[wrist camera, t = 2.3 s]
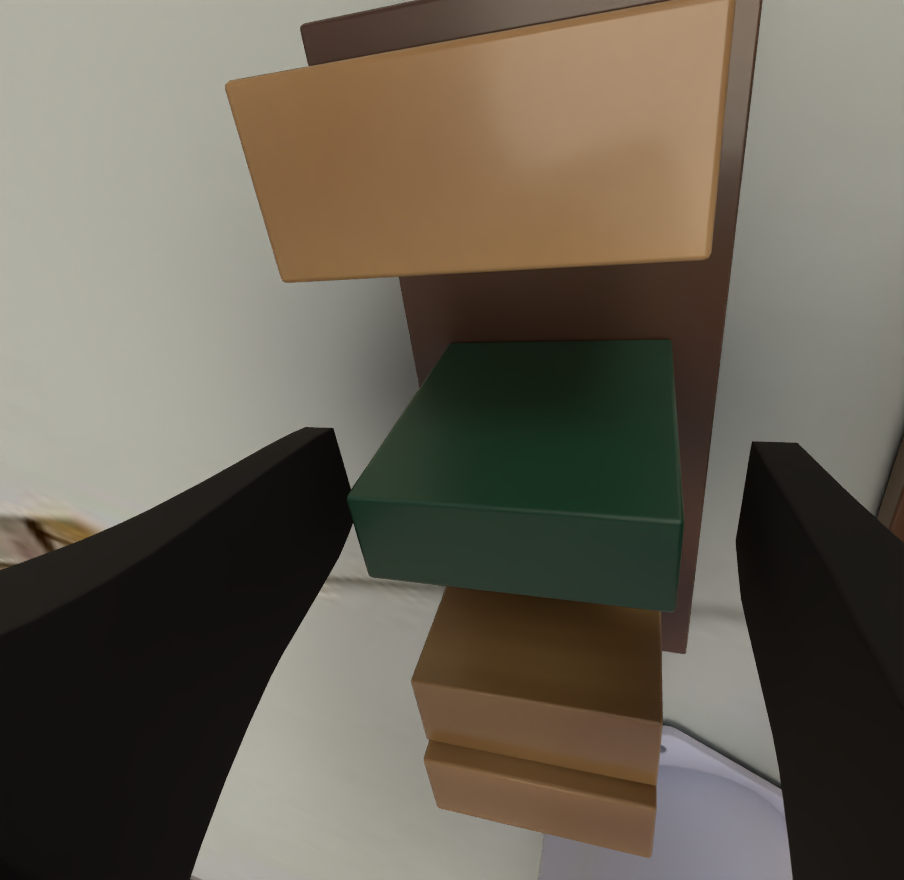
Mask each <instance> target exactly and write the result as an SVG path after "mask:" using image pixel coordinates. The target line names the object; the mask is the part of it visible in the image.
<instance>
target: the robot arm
mask: <svg viewBox="0 0 904 880" xmlns="http://www.w3.org/2000/svg"><path fill="white" fill-rule="evenodd" d="M350 491H351V488H350V484H349V481H348V477H347V474H346V470H345V467H344V463H343V460H342V456H341V453H340V449H339V446H338V443H337V439H336V436H335V432H334V429H333V428H314V427H305V428H302V429H300V430H298V431H295V432H293V433H291V434H289V435H287V436H285V437H283V438H281V439H279V440H277V441H275V442H273V443H272V444H270V445H268V446H266V447H264V448H262V449H261V450H259V451H257V452H255V453H253V454H252V455H250V456H248V457H246V458H245V459H243V460H241V461H239V462H237V463H236V464H234V465H232V466H230V467H228V468H227V469H225V470H223V471H221V472H220V473H218V474H216V475H214V476H212V477H211V478H209V479H207V480H205V481H203V482H201V483H200V484H198V485H196V486H194V487H192V488H190V489H188V490H186V491H184V492H182V493H180V494H179V495H177V496H175V497H173V498H171V499H169V500H167V501H165V502H163V503H161V504H159V505H157V506H156V507H154V508H152V509H150V510H148V511H146V512H144V513H141V514H139V515H137V516H135V517H133V518H131V519H129V520H127V521H124V522H122V523H120V524H118V525H116V526H113V527H111V528H109V529H106V530H104V531H102V532H99V533H97V534H95V535H93V536H90V537H88V538H85V539H83V540H81V541H78V542H76V543H73V544H70V545H68V546H65V547H62V548H60V549H57V550H54V551H52V552H49V553H46V554H44V555H41V556H38V557H36V558H33V559H30V560H28V561H25V562H22V563H20V564H17V565H14V566H11V567H8V568H5V569H3V570H0V880H190V877H191V874H192V871H193V868H194V865H195V862H196V859H197V856H198V853H199V850H200V847H201V844H202V842H203V839H204V836H205V834H206V831H207V828H208V826H209V823H210V820H211V818H212V815H213V812H214V810H215V807H216V804H217V802H218V799H219V797H220V794H221V791H222V789H223V786H224V783H225V781H226V778H227V776H228V773H229V771H230V769H231V766H232V764H233V761H234V759H235V757H236V754H237V752H238V749H239V747H240V745H241V742H242V740H243V737H244V735H245V733H246V730H247V728H248V725H249V723H250V721H251V719H252V717H253V714H254V712H255V710H256V708H257V706H258V704H259V701H260V699H261V697H262V695H263V693H264V690H265V688H266V686H267V684H268V682H269V679H270V677H271V675H272V673H273V671H274V670H275V668H276V666H277V664H278V662H279V660H280V658H281V656H282V654H283V653H284V651H285V649H286V648H287V646H288V644H289V642H290V641H291V639H292V637H293V636H294V634H295V632H296V631H297V629H298V627H299V625H300V624H301V622H302V620H303V619H304V617H305V615H306V614H307V612H308V610H309V608H310V607H311V605H312V603H313V602H314V600H315V598H316V597H317V595H318V593H319V591H320V590H321V588H322V586H323V584H324V583H325V581H326V579H327V577H328V576H329V574H330V572H331V570H332V569H333V567H334V565H335V563H336V562H337V560H338V558H339V556H340V554H341V552H342V549H343V547H344V544H345V542H346V540H347V537H348V535H349V532H350V530H351V527H352V524H353V520H352V516H351V513H350V510H349V506H348V503H347V495H348V494H349V492H350ZM736 552H737V563H738V574H739V584H740V593H741V601H742V605H743V610H744V614H745V619H746V623H747V627H748V632H749V636H750V640H751V645H752V649H753V653H754V658H755V662H756V666H757V670H758V675H759V679H760V683H761V687H762V692H763V696H764V700H765V705H766V709H767V713H768V717H769V722H770V726H771V730H772V734H773V739H774V745H775V750H776V755H777V761H778V766H779V773H780V780H781V788H782V789H780V788H778V787H776V786H775V785H773V784H771V783H770V782H768V781H766V780H764V779H763V778H761V777H759V776H757V775H756V774H754V773H752V772H750V771H749V770H747V769H745V768H744V767H742V766H740V765H738V764H737V763H735V762H733V761H731V760H730V759H728V758H726V757H725V756H723V755H721V754H719V753H718V752H716V751H714V750H712V749H711V748H709V747H707V746H705V745H704V744H702V743H700V742H699V741H697V740H695V739H693V738H692V737H690V736H688V735H686V734H685V733H683V732H681V731H679V730H678V729H676V728H674V727H671V726H666V725H663V728H662V738H661V749H660V759H659V770H658V781H657V811H656V821H655V831H654V842H653V852H652V856H651V857H650V858H645V857H641V856H637V855H633V854H629V853H625V852H620V851H616V850H612V849H608V848H604V847H600V846H595V845H591V844H587V843H583V842H579V841H575V840H570V839H566V838H562V837H558V836H554V835H550V834H545V833H544V840H543V847H542V854H541V862H540V869H539V877H538V880H904V542H903V541H901V540H900V539H899V538H898V537H897V536H895V535H894V534H893V533H892V532H891V531H890V530H889V529H888V528H886V527H885V526H884V525H883V524H882V523H881V522H880V521H879V520H877V519H876V518H875V517H874V516H873V515H872V514H871V513H870V512H869V511H868V510H866V509H865V508H864V507H863V506H862V505H861V504H860V503H859V502H858V501H857V500H856V499H855V498H854V497H852V496H851V495H850V494H849V493H848V492H847V491H846V490H845V489H844V488H843V487H842V486H841V485H840V484H839V483H838V482H837V481H836V480H835V479H834V478H833V477H832V476H831V475H830V474H829V473H828V472H827V471H826V470H825V469H824V468H823V467H821V466H820V465H819V464H818V463H817V462H816V461H815V460H814V459H813V458H812V457H811V456H810V455H809V454H808V453H807V452H806V451H805V450H804V449H803V448H802V447H801V446H800V445H799V444H798V443H785V442H754V441H752V444H751V450H750V456H749V462H748V469H747V475H746V481H745V487H744V493H743V499H742V505H741V512H740V518H739V524H738V530H737V536H736Z"/></svg>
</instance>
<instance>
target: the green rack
mask: <svg viewBox="0 0 904 880" xmlns="http://www.w3.org/2000/svg"><path fill="white" fill-rule="evenodd" d="M877 520H879V521H880V522H881V523H882V524H883V525H884V526H885V527H886V528H888V529H889V530H890V531H891V532H892V533H893V534H894V535H895V536H897V537H898V538H899V539H900V540H901V541H903V542H904V436H903V439H902V442H901V445H900V448H899V451H898V454H897V457H896V461H895V464H894V467H893V470H892V473H891V476H890V479H889V482H888V485H887V488H886V491H885V495H884V498H883V501H882V504H881V507H880V510H879V513H878V516H877Z"/></svg>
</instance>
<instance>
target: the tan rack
mask: <svg viewBox="0 0 904 880" xmlns="http://www.w3.org/2000/svg"><path fill="white" fill-rule="evenodd" d="M762 1H763V0H415V1H410V2H405V3H401V4H396V5H391V6H386V7H381V8H377V9H372V10H367V11H362V12H357V13H353V14H348V15H343V16H338V17H333V18H329V19H324V20H319V21H314V22H309V23H304V24H303V25H302V26H301V27H300V31H301V35H302V40H303V44H304V48H305V53H306V57H307V62H308V65H309V66H308V67H302V68H297V69H291V70H286V71H280V72H275V73H269V74H264V75H258V76H253V77H247V78H242V79H236V80H231V81H229V82H228V83H227V84H226V85H225V90H226V93H227V97H228V100H229V104H230V107H231V110H232V114H233V117H234V121H235V124H236V127H237V131H238V134H239V137H240V141H241V144H242V148H243V151H244V154H245V158H246V161H247V165H248V168H249V171H250V175H251V178H252V182H253V185H254V188H255V192H256V195H257V199H258V202H259V205H260V209H261V212H262V215H263V219H264V222H265V226H266V229H267V232H268V236H269V239H270V243H271V246H272V249H273V253H274V256H275V260H276V263H277V266H278V270H279V273H280V276H281V279H282V281H283V282H286V283H293V282H312V281H330V280H349V279H367V278H386V277H399V280H400V286H401V291H402V296H403V302H404V307H405V313H406V318H407V323H408V329H409V334H410V339H411V345H412V350H413V355H414V361H415V366H416V372H417V377H418V382H419V388H420V387H421V385H422V384H423V382H424V381H425V379H426V378H427V376H428V375H429V373H430V372H431V370H432V369H433V368H434V366H435V365H436V363H437V362H438V360H439V359H440V357H441V356H442V354H443V353H444V351H445V350H446V348H447V347H448V345H449V344H451V343H488V342H549V341H610V340H671V342H672V352H673V366H674V380H675V394H676V408H677V422H678V436H679V450H680V464H681V478H682V492H683V506H684V520H685V525H684V535H683V545H682V555H681V566H680V576H679V586H678V596H677V607H676V609H675V611H674V612H663V611H655V610H646V609H637V608H629V607H620V606H612V605H603V604H595V603H586V602H578V601H569V600H561V599H552V598H543V597H535V596H526V595H518V594H509V593H501V592H492V591H484V590H475V589H467V588H458V587H449V586H446V589H445V592H444V594H443V597H442V600H441V602H440V605H439V608H438V610H437V613H436V615H435V618H434V621H433V623H432V626H431V629H430V631H429V634H428V637H427V639H426V642H425V645H424V647H423V650H422V653H421V655H420V658H419V661H418V663H417V666H416V669H415V671H414V674H413V676H412V679H411V683H412V686H413V690H414V694H415V697H416V701H417V704H418V708H419V712H420V715H421V719H422V722H423V726H424V729H425V733H426V737H427V739H429V743H428V746H427V749H426V752H425V756H424V763H425V766H426V770H427V773H428V777H429V780H430V783H431V787H432V790H433V794H434V797H435V800H436V804H437V806H438V807H439V808H441V809H445V810H449V811H454V812H458V813H462V814H466V815H470V816H474V817H479V818H483V819H487V820H491V821H495V822H499V823H504V824H508V825H512V826H516V827H520V828H525V829H529V830H533V831H537V832H541V833H545V834H550V835H554V836H558V837H562V838H566V839H570V840H575V841H579V842H583V843H587V844H591V845H595V846H600V847H604V848H608V849H612V850H616V851H620V852H625V853H629V854H633V855H637V856H641V857H645V858H650V857H651V856H652V852H653V842H654V831H655V821H656V811H657V781H658V770H659V759H660V749H661V738H662V728H663V701H662V651H667V652H674V653H681V654H685V653H686V648H687V640H688V631H689V623H690V614H691V606H692V597H693V588H694V580H695V571H696V563H697V554H698V546H699V537H700V529H701V520H702V512H703V503H704V495H705V486H706V478H707V469H708V461H709V452H710V444H711V435H712V427H713V418H714V410H715V401H716V393H717V384H718V376H719V367H720V359H721V350H722V342H723V333H724V325H725V316H726V307H727V299H728V290H729V282H730V273H731V265H732V256H733V248H734V239H735V231H736V222H737V214H738V205H739V197H740V188H741V180H742V171H743V163H744V154H745V146H746V137H747V129H748V120H749V112H750V103H751V95H752V86H753V78H754V69H755V61H756V52H757V43H758V35H759V26H760V18H761V9H762Z"/></svg>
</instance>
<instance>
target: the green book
mask: <svg viewBox="0 0 904 880" xmlns="http://www.w3.org/2000/svg"><path fill="white" fill-rule="evenodd" d="M347 503H348V506H349V510H350V513H351V516H352V520H353V523H354V527H355V530H356V533H357V537H358V540H359V544H360V547H361V550H362V554H363V557H364V561H365V564H366V567H367V571H368V574H369V576H370V577H373V578H381V579H390V580H398V581H407V582H415V583H424V584H432V585H441V586H449V587H458V588H467V589H475V590H484V591H492V592H501V593H509V594H518V595H526V596H535V597H543V598H552V599H561V600H569V601H578V602H586V603H595V604H603V605H612V606H620V607H629V608H637V609H646V610H655V611H663V612H674V611H675V609H676V607H677V596H678V586H679V576H680V566H681V555H682V545H683V535H684V525H685V520H684V506H683V492H682V478H681V464H680V450H679V436H678V422H677V408H676V394H675V380H674V366H673V352H672V342H671V340H610V341H549V342H488V343H451V344H449V345H448V347H447V348H446V350H445V351H444V353H443V354H442V356H441V357H440V359H439V360H438V362H437V363H436V365H435V366H434V368H433V369H432V370H431V372H430V373H429V375H428V376H427V378H426V379H425V381H424V382H423V384H422V385H421V387H420V388H419V390H418V391H417V393H416V394H415V396H414V397H413V399H412V400H411V402H410V403H409V405H408V406H407V408H406V409H405V411H404V412H403V414H402V415H401V417H400V418H399V419H398V421H397V422H396V424H395V425H394V427H393V428H392V430H391V431H390V433H389V434H388V436H387V437H386V439H385V440H384V442H383V443H382V445H381V446H380V448H379V449H378V451H377V452H376V454H375V455H374V457H373V458H372V460H371V461H370V463H369V464H368V466H367V467H366V469H365V470H364V471H363V473H362V474H361V476H360V477H359V479H358V480H357V482H356V483H355V485H354V486H353V488H352V489H351V491H350V492H349V494H348V495H347Z"/></svg>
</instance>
